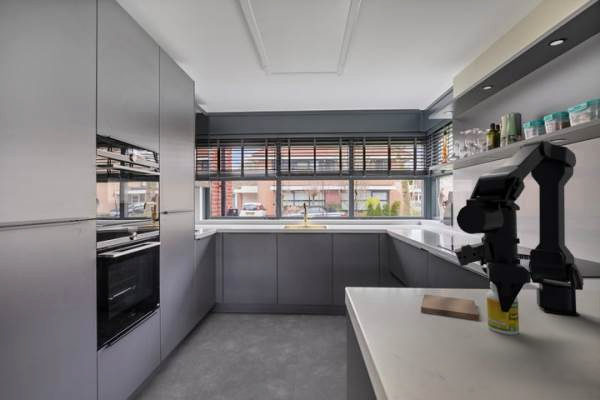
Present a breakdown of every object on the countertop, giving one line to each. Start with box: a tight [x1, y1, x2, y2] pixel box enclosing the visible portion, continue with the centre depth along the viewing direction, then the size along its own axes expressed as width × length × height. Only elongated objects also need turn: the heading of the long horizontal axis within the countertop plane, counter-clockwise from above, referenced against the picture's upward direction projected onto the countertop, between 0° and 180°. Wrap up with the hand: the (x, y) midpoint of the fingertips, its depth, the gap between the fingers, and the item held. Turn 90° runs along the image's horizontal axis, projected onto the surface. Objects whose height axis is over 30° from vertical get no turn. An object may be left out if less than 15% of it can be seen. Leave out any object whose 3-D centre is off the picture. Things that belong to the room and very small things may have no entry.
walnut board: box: [420, 294, 479, 321], centre depth 73 cm, size 12×12×1 cm
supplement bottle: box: [486, 281, 520, 336], centre depth 60 cm, size 5×5×10 cm
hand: (502, 307), depth 60 cm, fingers closed on supplement bottle, 5 cm apart
